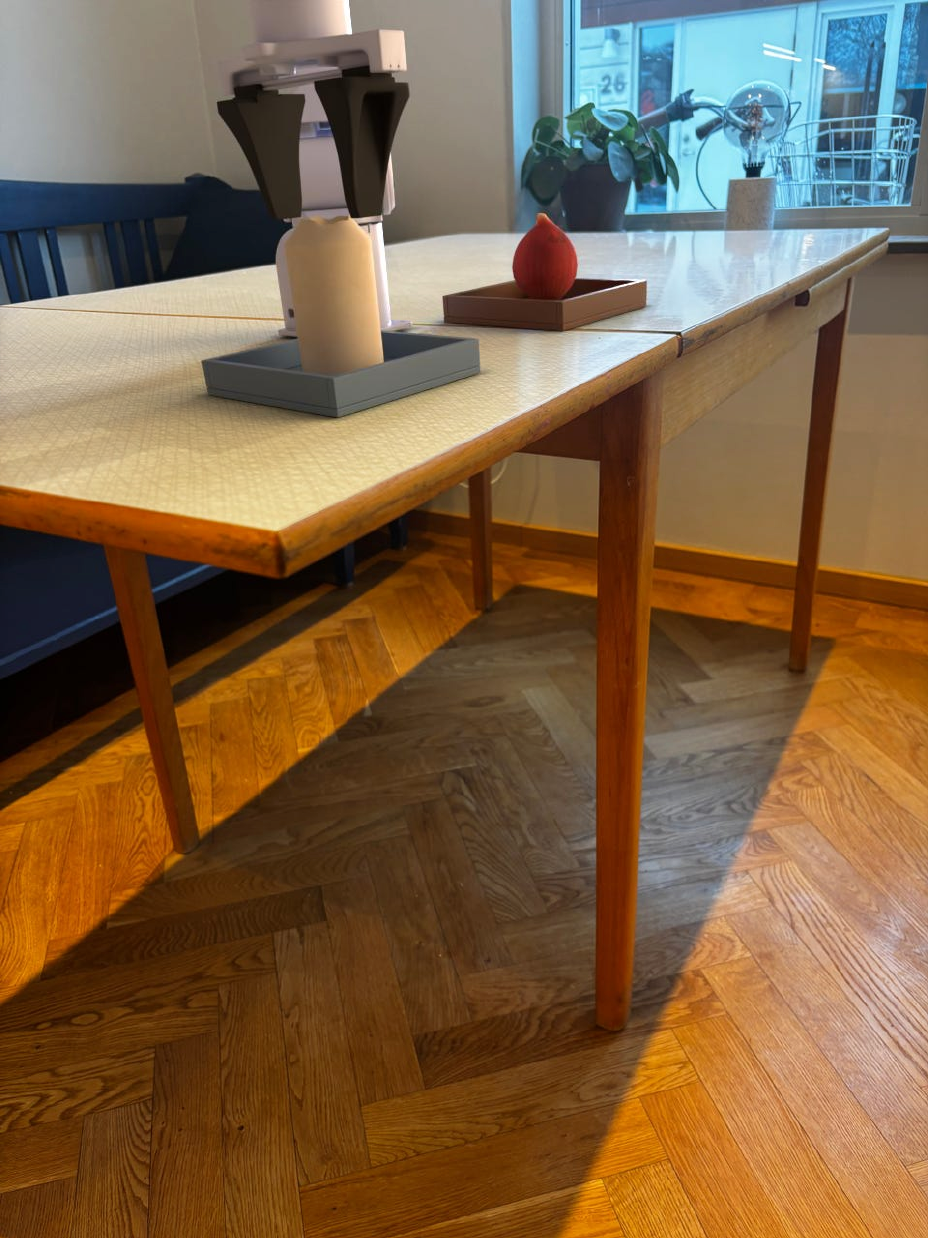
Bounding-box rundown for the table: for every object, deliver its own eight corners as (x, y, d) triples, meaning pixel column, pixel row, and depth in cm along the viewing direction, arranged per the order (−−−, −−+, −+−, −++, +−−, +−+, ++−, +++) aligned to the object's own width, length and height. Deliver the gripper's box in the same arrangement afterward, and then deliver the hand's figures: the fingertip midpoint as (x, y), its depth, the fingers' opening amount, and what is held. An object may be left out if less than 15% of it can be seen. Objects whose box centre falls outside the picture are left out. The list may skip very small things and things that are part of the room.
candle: (319, 389, 59) (296, 220, 54) (293, 376, 63) (269, 218, 59) (397, 376, 61) (381, 212, 56) (366, 363, 65) (349, 211, 61)
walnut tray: (443, 322, 83) (441, 295, 82) (531, 300, 92) (530, 276, 91) (562, 331, 75) (562, 301, 74) (646, 306, 84) (647, 279, 83)
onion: (577, 302, 85) (577, 208, 82) (578, 311, 80) (578, 212, 77) (515, 305, 86) (512, 212, 82) (512, 315, 81) (508, 216, 77)
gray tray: (207, 394, 62) (200, 360, 61) (350, 357, 71) (346, 326, 70) (337, 417, 54) (333, 378, 53) (481, 372, 63) (479, 338, 62)
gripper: (159, -29, 53) (204, 224, 59) (324, -82, 44) (357, 222, 51) (256, -19, 58) (288, 215, 64) (423, -65, 49) (442, 211, 55)
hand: (324, 217), depth 58 cm, fingers open, 7 cm apart
